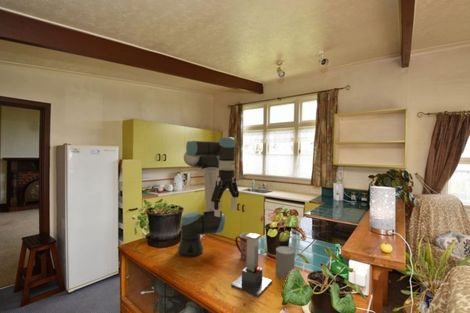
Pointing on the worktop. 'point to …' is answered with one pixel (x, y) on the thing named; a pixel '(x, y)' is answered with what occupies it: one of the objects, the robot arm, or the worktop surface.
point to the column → (252, 251)
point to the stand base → (252, 282)
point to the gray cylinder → (284, 260)
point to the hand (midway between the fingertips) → (225, 213)
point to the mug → (242, 245)
